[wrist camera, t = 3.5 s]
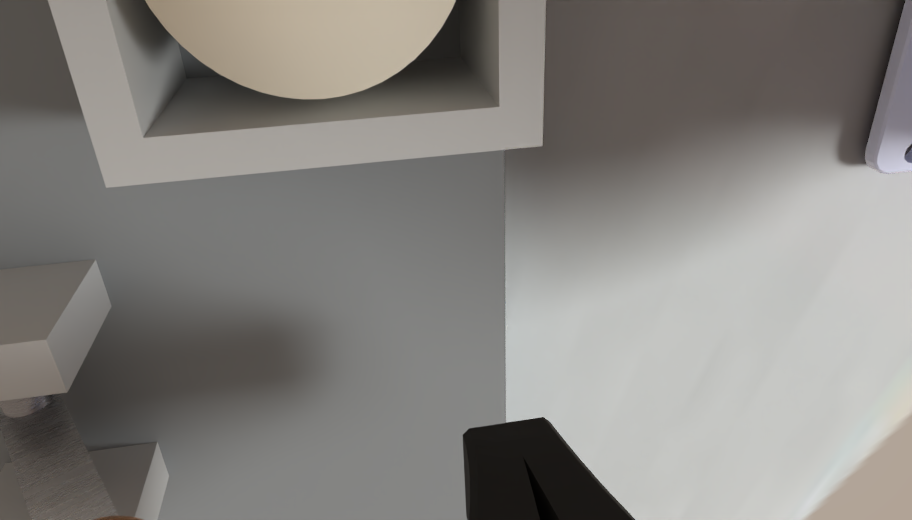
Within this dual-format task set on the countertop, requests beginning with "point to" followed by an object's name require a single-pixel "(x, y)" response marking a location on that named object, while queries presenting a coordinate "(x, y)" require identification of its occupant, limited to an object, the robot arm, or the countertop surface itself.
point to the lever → (53, 462)
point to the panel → (259, 264)
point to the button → (304, 40)
